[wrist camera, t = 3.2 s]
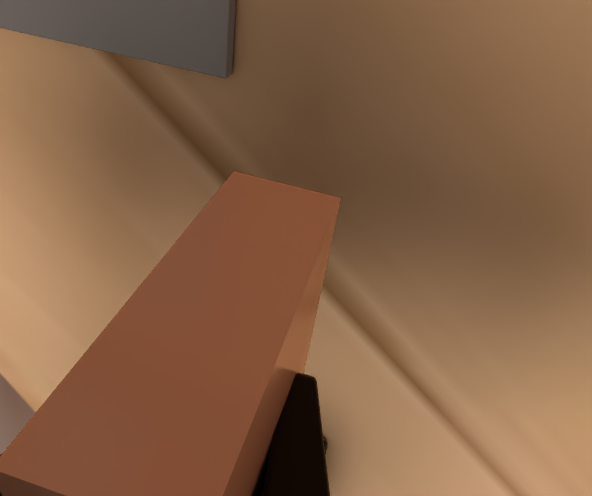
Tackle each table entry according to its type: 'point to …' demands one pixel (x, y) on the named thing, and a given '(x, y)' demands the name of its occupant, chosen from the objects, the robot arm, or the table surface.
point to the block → (190, 359)
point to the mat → (135, 28)
